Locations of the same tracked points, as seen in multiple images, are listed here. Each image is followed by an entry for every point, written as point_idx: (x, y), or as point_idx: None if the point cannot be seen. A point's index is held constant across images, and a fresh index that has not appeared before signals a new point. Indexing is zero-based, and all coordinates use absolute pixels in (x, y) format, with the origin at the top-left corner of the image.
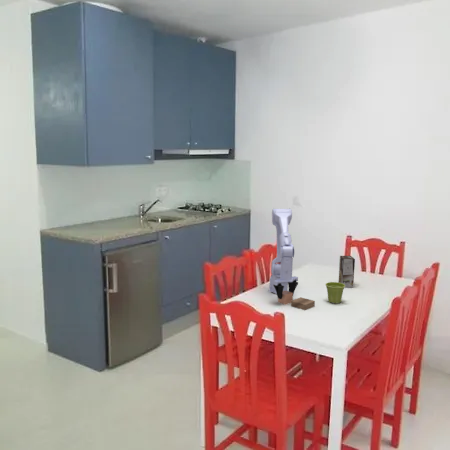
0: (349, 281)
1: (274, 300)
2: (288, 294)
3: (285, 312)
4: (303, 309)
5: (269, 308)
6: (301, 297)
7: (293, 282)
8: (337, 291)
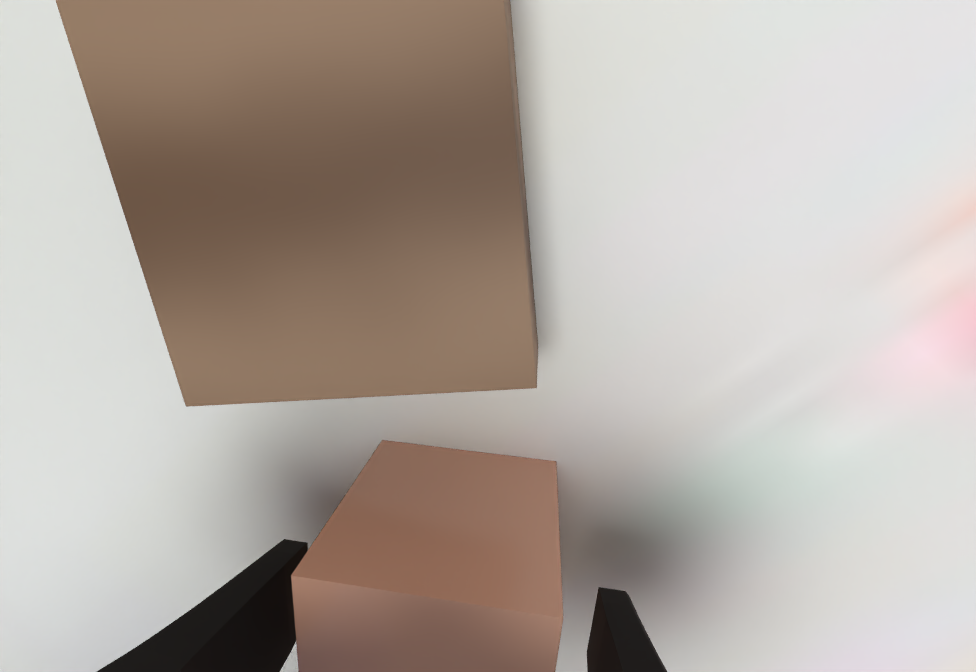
0: None
1: None
2: (448, 590)
3: (955, 170)
4: (512, 34)
5: (940, 513)
6: (182, 388)
7: None
8: None
